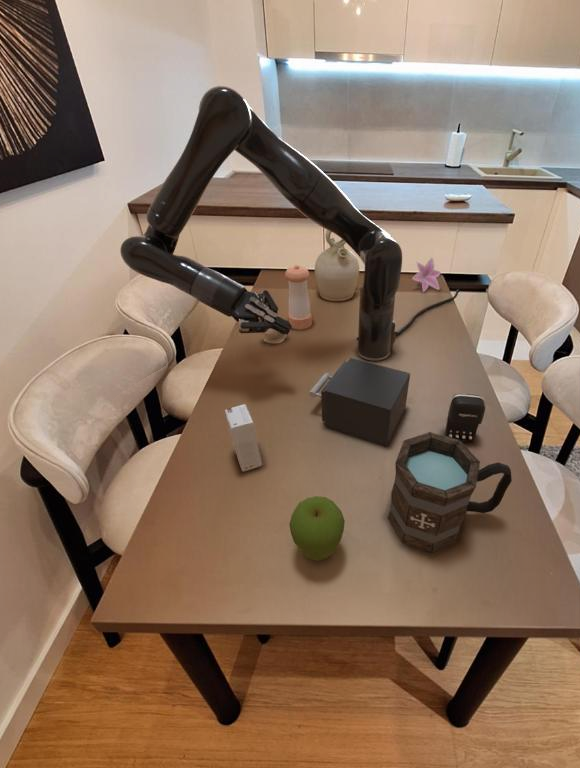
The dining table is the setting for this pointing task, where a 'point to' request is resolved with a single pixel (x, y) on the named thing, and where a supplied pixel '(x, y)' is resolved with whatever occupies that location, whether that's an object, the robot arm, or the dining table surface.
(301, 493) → the dining table surface
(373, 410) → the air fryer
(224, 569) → the dining table surface
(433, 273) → the lily
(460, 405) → the battery charger
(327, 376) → the drawer
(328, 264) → the jug
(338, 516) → the apple
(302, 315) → the salt shaker
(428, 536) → the mug
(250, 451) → the cosmetic box
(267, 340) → the decorative ornament
